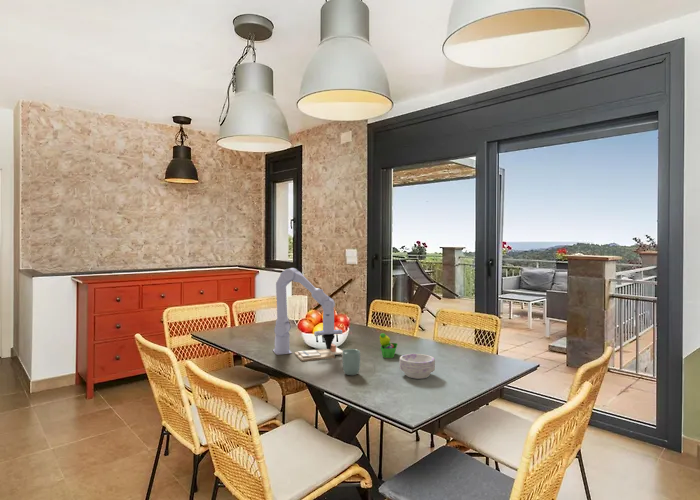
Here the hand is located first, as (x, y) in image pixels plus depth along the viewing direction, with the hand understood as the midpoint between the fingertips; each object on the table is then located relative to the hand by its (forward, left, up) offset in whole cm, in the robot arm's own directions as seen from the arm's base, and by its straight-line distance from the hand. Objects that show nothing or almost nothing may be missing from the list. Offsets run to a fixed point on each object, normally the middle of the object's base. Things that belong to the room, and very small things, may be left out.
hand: (328, 348), depth 214 cm
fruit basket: (+12, +28, -3) cm, 31 cm away
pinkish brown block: (0, +4, -2) cm, 4 cm away
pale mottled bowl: (+45, +25, -3) cm, 52 cm away
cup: (+33, -1, -3) cm, 33 cm away
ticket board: (0, -8, -3) cm, 8 cm away
